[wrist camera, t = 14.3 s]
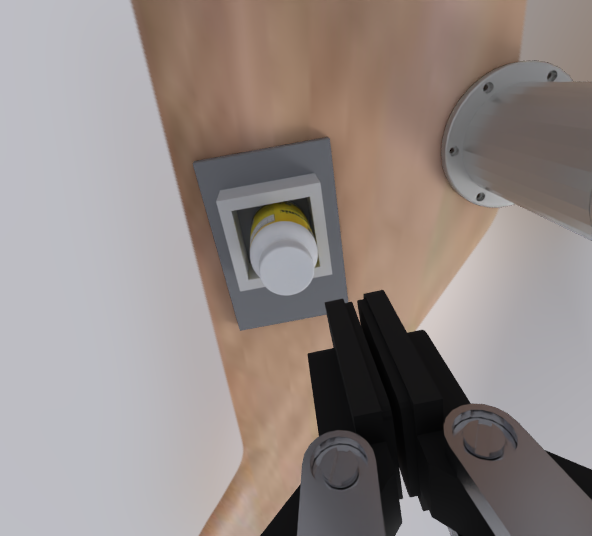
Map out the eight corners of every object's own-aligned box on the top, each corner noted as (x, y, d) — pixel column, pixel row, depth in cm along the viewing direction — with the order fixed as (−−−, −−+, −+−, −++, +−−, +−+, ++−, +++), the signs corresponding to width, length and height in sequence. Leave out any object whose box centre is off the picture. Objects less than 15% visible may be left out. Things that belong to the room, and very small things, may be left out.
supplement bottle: (319, 227, 36) (339, 274, 27) (277, 262, 37) (283, 317, 28) (282, 185, 34) (290, 222, 25) (238, 223, 35) (232, 271, 26)
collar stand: (327, 137, 33) (337, 144, 29) (347, 305, 41) (356, 329, 37) (194, 161, 33) (185, 172, 29) (240, 325, 41) (238, 351, 37)
